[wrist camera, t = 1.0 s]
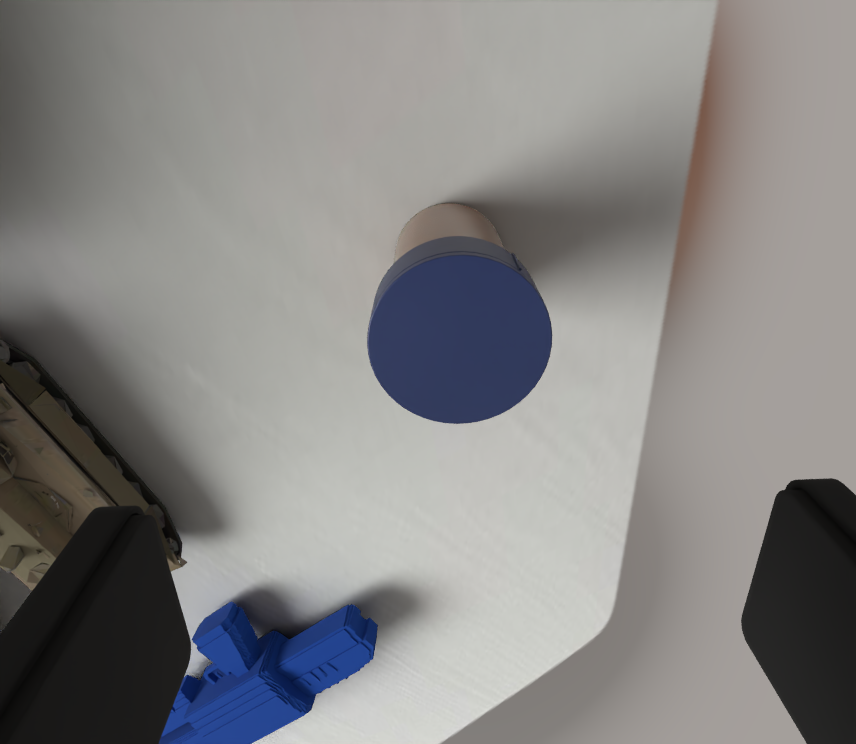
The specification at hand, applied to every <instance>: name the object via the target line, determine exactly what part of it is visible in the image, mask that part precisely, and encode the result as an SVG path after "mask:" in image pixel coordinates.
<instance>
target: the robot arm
mask: <svg viewBox="0 0 856 744" xmlns="http://www.w3.org/2000/svg"><path fill="white" fill-rule="evenodd" d="M741 623H742V631H743V634H744V637H745V640H746V642H747V644H748V646H749V647H750V649H751V650H752V652H753V654H754V655H755V657H756V659H757V661H758V662H759V664H760V665H761V667H762V669H763V671H764V672H765V674H766V676H767V677H768V679H769V681H770V682H771V684H772V686H773V687H774V689H775V691H776V693H777V694H778V696H779V697H780V699H781V701H782V703H783V704H784V706H785V708H786V709H787V711H788V713H789V714H790V716H791V718H792V719H793V721H794V723H795V724H796V726H797V728H798V729H799V731H800V733H801V734H802V736H803V738H804V739H805V741H806V743H807V744H856V495H855V494H854V493H853V492H852V491H851V490H849V489H848V488H847V487H846V486H845V485H844V484H843V483H841V482H840V481H838V480H836V479H806V480H794V481H791V482H790V483H789V484H788V485H787V487H786V489H785V490H782V491H780V492H779V493H778V494H777V496H776V498H775V501H774V504H773V508H772V511H771V515H770V519H769V522H768V526H767V529H766V533H765V536H764V540H763V544H762V547H761V550H760V554H759V558H758V561H757V564H756V568H755V572H754V575H753V579H752V583H751V586H750V590H749V593H748V596H747V600H746V603H745V607H744V610H743V614H742V620H741ZM190 654H191V642H190V637H189V634H188V630H187V627H186V623H185V620H184V616H183V613H182V609H181V606H180V602H179V599H178V596H177V592H176V589H175V585H174V582H173V578H172V575H171V571H170V568H169V564H168V561H167V557H166V554H165V551H164V547H163V544H162V540H161V537H160V533H159V530H158V526H157V523H156V520H155V518H154V517H153V516H152V515H145V514H144V512H143V510H142V509H141V508H140V507H139V506H135V505H134V506H108V507H98V508H95V509H94V510H93V511H92V512H91V513H90V514H89V515H88V516H87V518H86V519H85V520H84V522H83V523H82V524H81V526H80V527H79V528H78V530H77V531H76V532H75V534H74V535H73V537H72V538H71V539H70V541H69V542H68V543H67V545H66V546H65V547H64V549H63V550H62V551H61V553H60V554H59V555H58V557H57V558H56V560H55V561H54V562H53V564H52V565H51V566H50V568H49V569H48V570H47V572H46V573H45V574H44V576H43V577H42V578H41V580H40V581H39V583H38V584H37V585H36V587H35V588H34V589H33V591H32V592H31V593H30V595H29V596H28V597H27V599H26V600H25V601H24V603H23V604H22V605H21V607H20V608H19V610H18V611H17V612H16V614H15V615H14V616H13V618H12V619H11V620H10V622H9V623H8V624H7V626H6V627H5V628H4V630H3V631H2V633H1V634H0V744H159V741H160V738H161V736H162V733H163V731H164V728H165V725H166V723H167V720H168V717H169V715H170V712H171V709H172V707H173V704H174V702H175V699H176V696H177V694H178V691H179V688H180V686H181V683H182V681H183V678H184V675H185V673H186V670H187V667H188V664H189V660H190Z"/></svg>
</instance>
